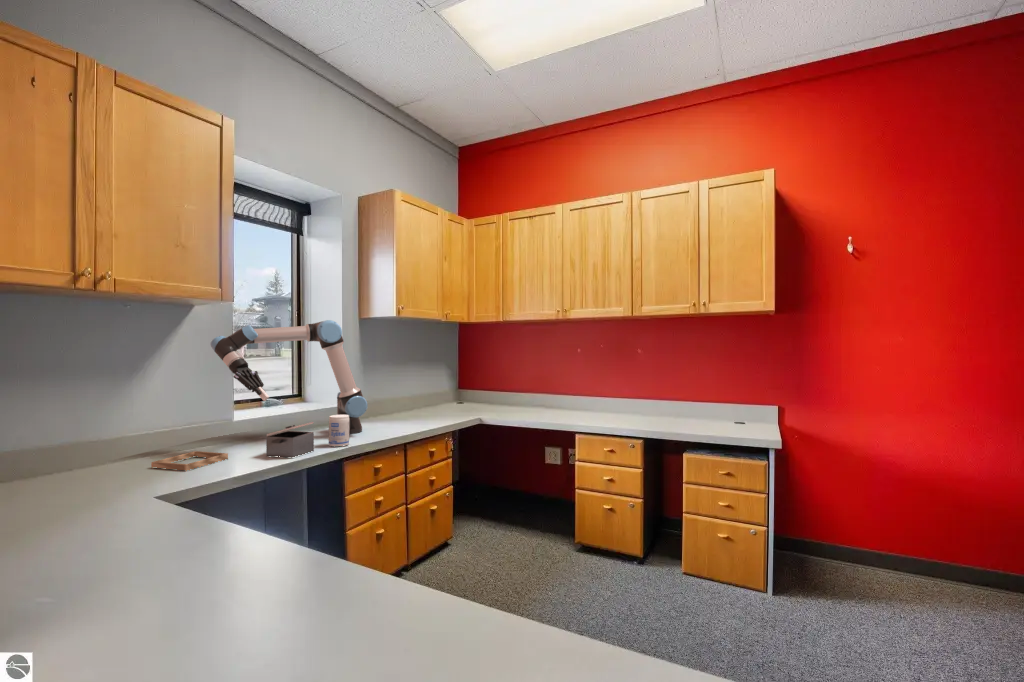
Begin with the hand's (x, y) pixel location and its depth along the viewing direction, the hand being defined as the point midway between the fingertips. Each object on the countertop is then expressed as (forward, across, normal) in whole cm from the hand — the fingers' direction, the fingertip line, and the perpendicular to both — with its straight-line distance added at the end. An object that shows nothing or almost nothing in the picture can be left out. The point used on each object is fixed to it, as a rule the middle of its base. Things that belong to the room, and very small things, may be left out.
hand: (266, 398), depth 223 cm
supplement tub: (+35, -21, -1) cm, 41 cm away
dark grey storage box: (+27, 0, -9) cm, 28 cm away
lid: (+19, 0, -1) cm, 19 cm away
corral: (+6, +25, -29) cm, 39 cm away
